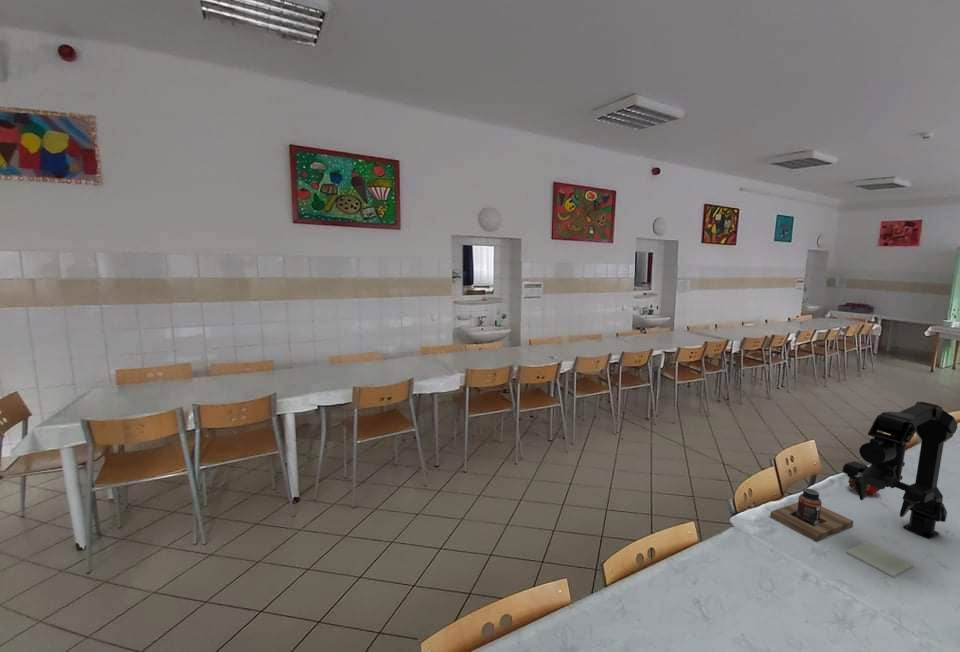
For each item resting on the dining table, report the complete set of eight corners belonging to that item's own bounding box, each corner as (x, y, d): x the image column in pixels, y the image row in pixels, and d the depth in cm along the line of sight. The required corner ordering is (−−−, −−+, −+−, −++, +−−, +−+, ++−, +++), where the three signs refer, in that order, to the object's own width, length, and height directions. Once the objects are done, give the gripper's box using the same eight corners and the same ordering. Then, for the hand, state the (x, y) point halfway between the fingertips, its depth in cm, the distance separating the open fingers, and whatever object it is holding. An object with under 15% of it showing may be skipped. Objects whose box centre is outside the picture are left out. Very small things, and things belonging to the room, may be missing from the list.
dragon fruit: (847, 497, 160) (869, 497, 164) (872, 494, 153) (894, 494, 157) (838, 474, 164) (859, 474, 168) (861, 470, 157) (883, 470, 161)
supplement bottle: (822, 529, 137) (827, 497, 136) (801, 527, 139) (806, 495, 137) (812, 519, 143) (816, 487, 142) (792, 516, 144) (796, 485, 143)
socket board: (805, 504, 152) (806, 499, 152) (852, 526, 140) (853, 521, 139) (770, 517, 144) (770, 511, 144) (816, 541, 131) (817, 535, 131)
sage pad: (866, 543, 131) (866, 541, 131) (913, 566, 121) (913, 564, 121) (845, 552, 127) (846, 550, 126) (893, 577, 117) (893, 575, 117)
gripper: (835, 448, 127) (828, 497, 129) (919, 477, 110) (909, 533, 112) (856, 443, 132) (848, 490, 134) (939, 470, 115) (929, 523, 117)
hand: (881, 507), depth 124 cm, fingers open, 9 cm apart
